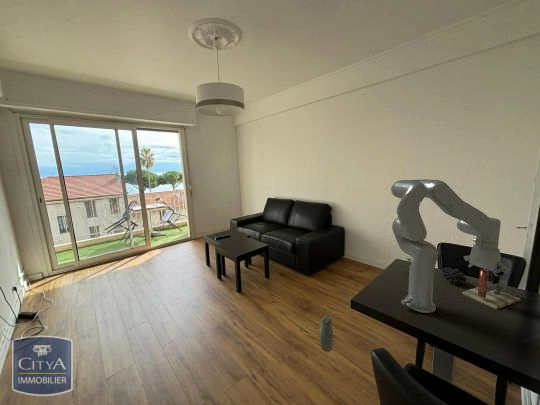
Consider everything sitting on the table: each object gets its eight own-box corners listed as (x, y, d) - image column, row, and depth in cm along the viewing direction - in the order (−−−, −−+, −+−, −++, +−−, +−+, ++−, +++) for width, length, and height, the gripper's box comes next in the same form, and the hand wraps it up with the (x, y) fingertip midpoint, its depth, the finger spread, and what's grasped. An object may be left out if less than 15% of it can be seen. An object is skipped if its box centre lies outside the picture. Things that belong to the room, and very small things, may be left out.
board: (496, 309, 104) (497, 300, 103) (462, 293, 117) (462, 285, 116) (519, 300, 109) (521, 291, 108) (484, 286, 122) (485, 278, 122)
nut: (489, 290, 117) (490, 283, 116) (481, 286, 120) (481, 280, 120) (494, 288, 118) (494, 282, 117) (485, 285, 121) (486, 279, 121)
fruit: (435, 278, 137) (457, 289, 122) (432, 266, 136) (453, 275, 121) (448, 273, 137) (472, 284, 122) (445, 261, 137) (468, 270, 122)
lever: (485, 299, 107) (488, 272, 105) (474, 295, 111) (476, 269, 109) (509, 291, 113) (512, 265, 111) (498, 286, 117) (501, 262, 115)
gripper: (460, 239, 113) (457, 272, 115) (505, 251, 96) (501, 289, 99) (470, 237, 115) (467, 270, 118) (516, 248, 99) (511, 285, 101)
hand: (483, 278), depth 108 cm, fingers open, 8 cm apart
